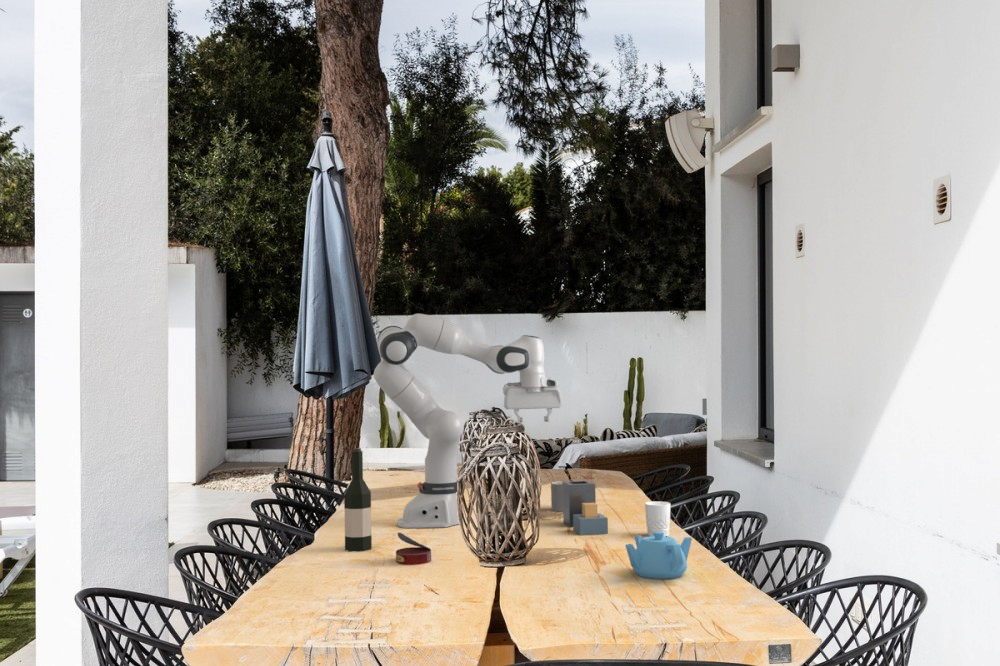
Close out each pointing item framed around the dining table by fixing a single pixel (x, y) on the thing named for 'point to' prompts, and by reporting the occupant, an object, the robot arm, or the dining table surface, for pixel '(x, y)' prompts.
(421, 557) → the canned food
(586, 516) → the plug
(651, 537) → the teapot
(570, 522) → the upper socket
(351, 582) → the dining table surface
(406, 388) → the robot arm
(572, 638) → the dining table surface
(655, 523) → the white cup
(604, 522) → the lower socket
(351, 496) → the wine bottle
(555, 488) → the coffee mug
